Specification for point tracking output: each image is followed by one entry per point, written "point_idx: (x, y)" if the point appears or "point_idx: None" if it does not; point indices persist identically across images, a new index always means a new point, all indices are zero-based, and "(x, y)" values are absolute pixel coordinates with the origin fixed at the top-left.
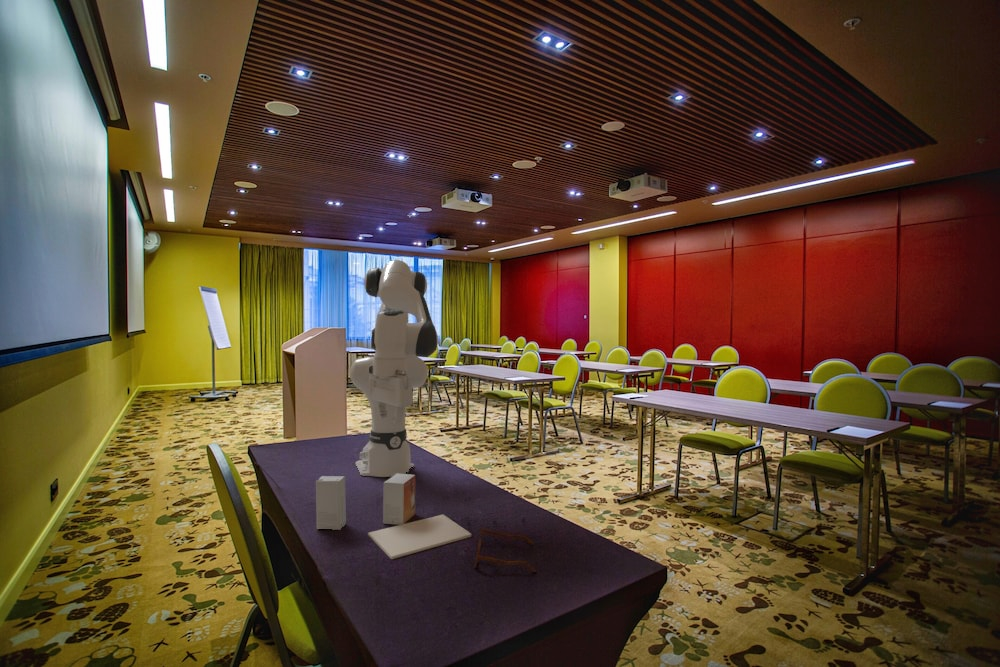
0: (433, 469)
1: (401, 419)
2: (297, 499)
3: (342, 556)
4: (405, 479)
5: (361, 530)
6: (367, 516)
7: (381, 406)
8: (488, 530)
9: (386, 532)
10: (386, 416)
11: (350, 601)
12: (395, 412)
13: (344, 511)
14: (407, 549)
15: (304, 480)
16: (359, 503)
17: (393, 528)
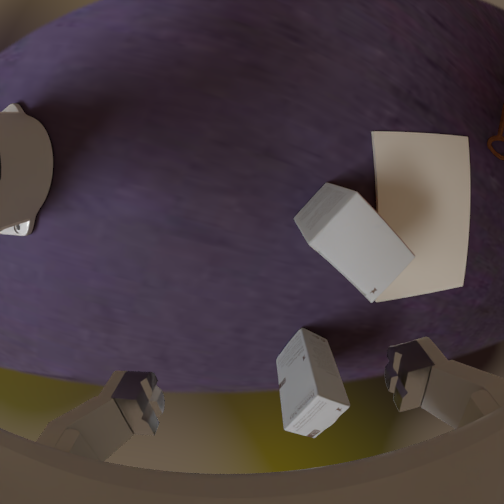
0: (47, 59)
1: (435, 348)
2: None
3: None
4: (388, 240)
5: (347, 306)
6: (285, 282)
7: (95, 443)
8: (502, 129)
9: None
10: (150, 375)
11: (490, 339)
12: (450, 423)
13: (313, 346)
14: (461, 258)
15: (40, 337)
16: (197, 280)
17: None
